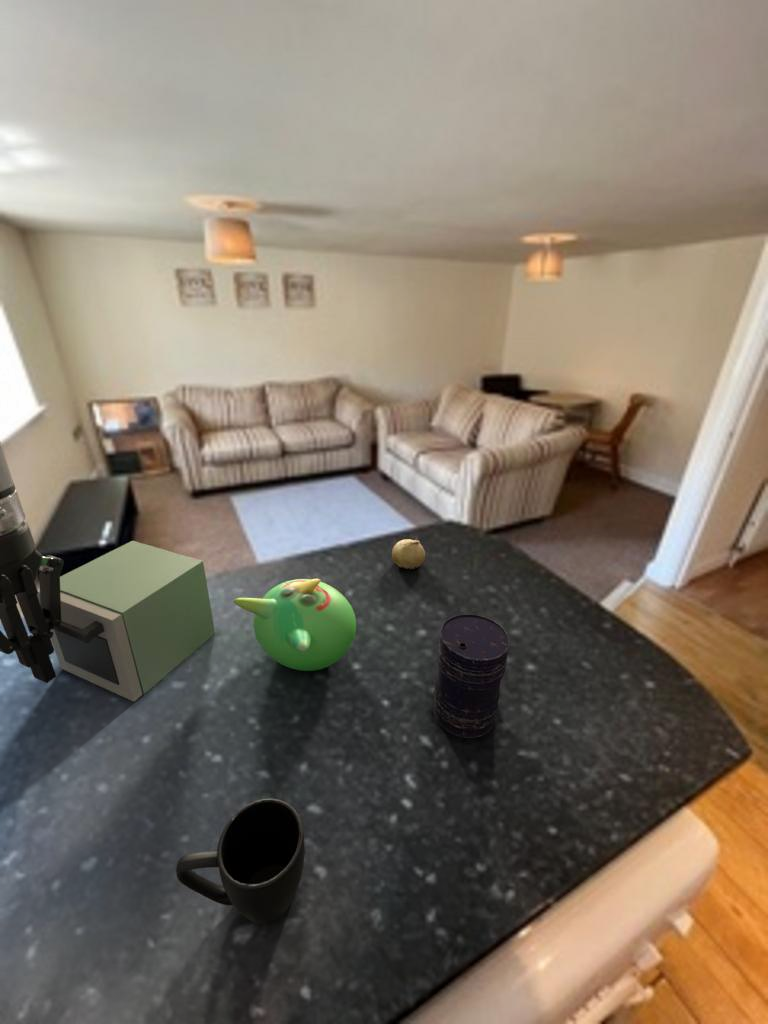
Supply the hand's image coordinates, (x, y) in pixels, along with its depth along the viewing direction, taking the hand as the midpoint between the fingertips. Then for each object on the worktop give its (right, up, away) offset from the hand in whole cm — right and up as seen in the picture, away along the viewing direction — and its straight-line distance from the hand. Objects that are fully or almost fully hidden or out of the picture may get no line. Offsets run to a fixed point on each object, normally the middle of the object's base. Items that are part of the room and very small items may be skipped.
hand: (45, 676), depth 64 cm
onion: (+54, +11, +45) cm, 71 cm away
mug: (+34, -17, -16) cm, 42 cm away
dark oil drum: (+61, -8, +6) cm, 62 cm away
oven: (+6, -1, +17) cm, 18 cm away
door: (+1, -5, +8) cm, 9 cm away
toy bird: (+34, -2, +16) cm, 38 cm away
